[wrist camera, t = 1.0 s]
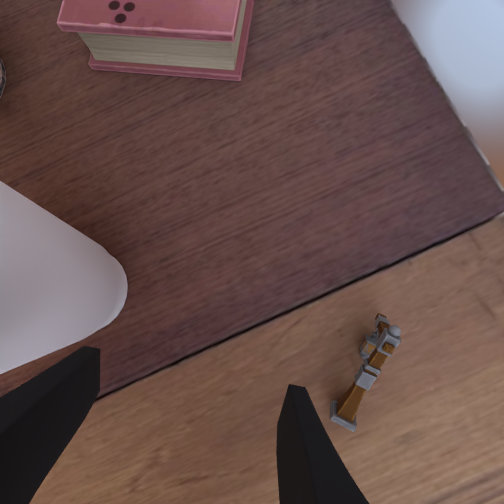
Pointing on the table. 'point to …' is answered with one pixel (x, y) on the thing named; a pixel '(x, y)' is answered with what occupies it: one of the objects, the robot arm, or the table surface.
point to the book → (163, 35)
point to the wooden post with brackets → (366, 371)
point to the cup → (50, 282)
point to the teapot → (2, 77)
